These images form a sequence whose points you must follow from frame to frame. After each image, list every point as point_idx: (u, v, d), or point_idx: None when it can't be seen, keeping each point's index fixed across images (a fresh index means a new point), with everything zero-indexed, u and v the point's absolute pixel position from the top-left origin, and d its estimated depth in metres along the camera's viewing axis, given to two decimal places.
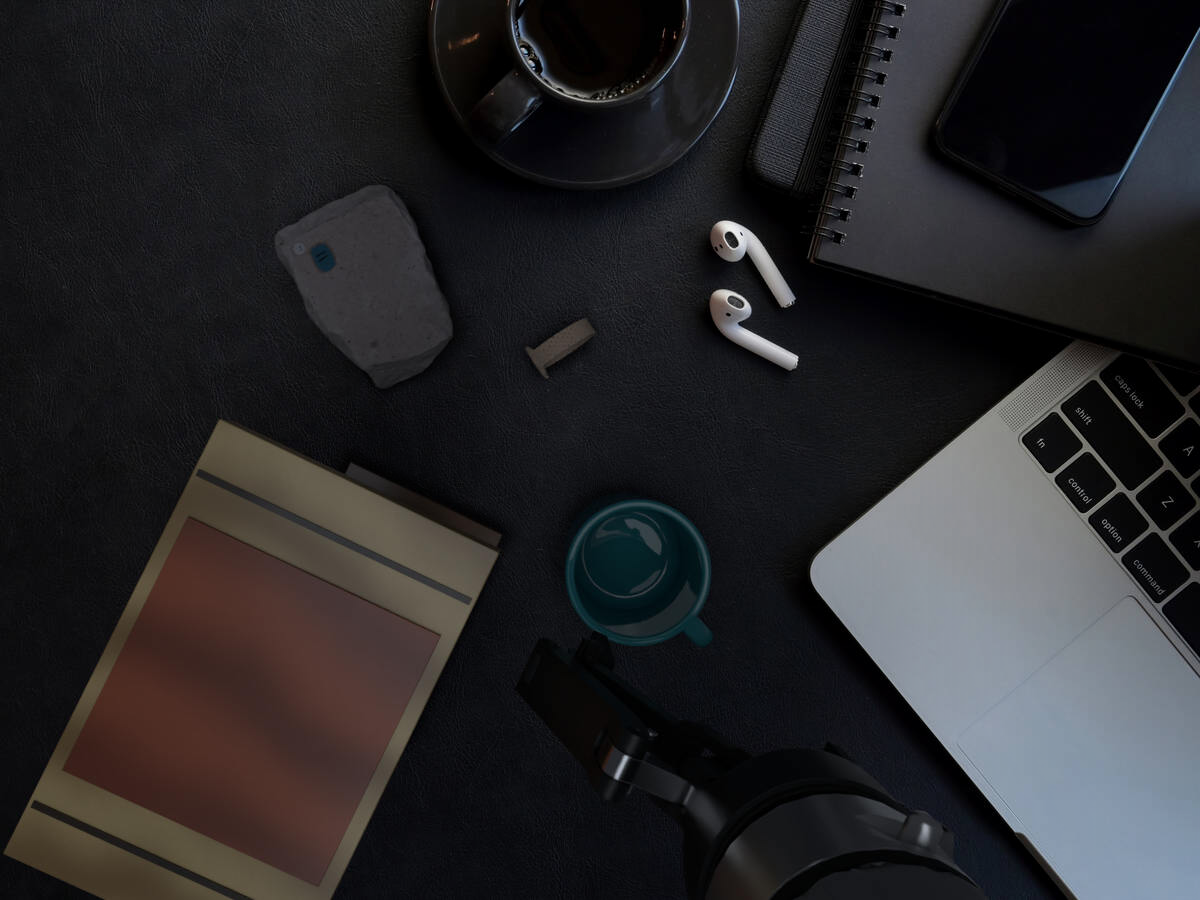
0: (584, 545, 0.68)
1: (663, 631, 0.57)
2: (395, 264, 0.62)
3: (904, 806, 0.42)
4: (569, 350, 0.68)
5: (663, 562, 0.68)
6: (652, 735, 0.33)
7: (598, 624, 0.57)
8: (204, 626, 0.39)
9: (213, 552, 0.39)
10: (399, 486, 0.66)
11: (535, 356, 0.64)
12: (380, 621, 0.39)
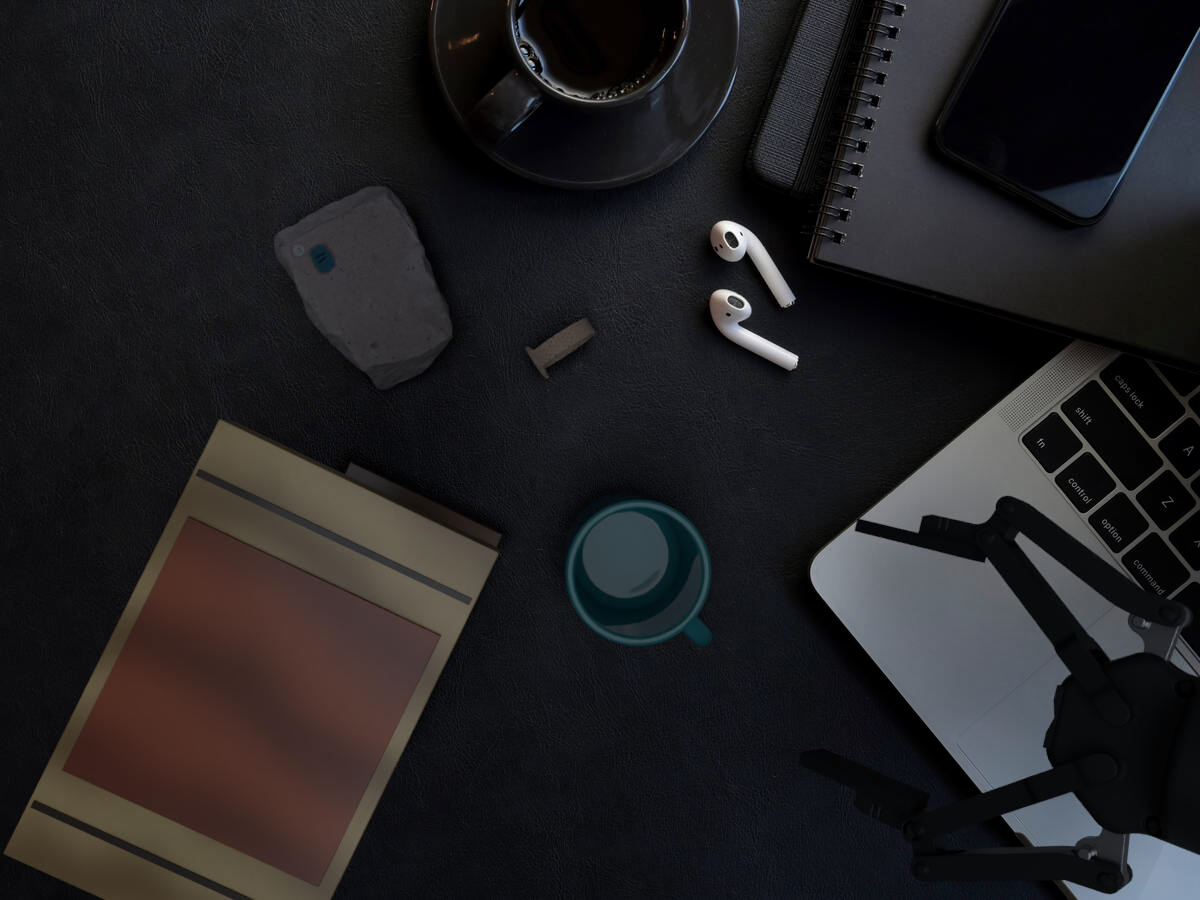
0: (584, 545, 0.68)
1: (663, 631, 0.57)
2: (395, 265, 0.62)
3: None
4: (569, 350, 0.68)
5: (663, 562, 0.68)
6: None
7: (598, 624, 0.57)
8: (204, 626, 0.39)
9: (213, 552, 0.39)
10: (399, 486, 0.66)
11: (535, 356, 0.64)
12: (380, 621, 0.39)
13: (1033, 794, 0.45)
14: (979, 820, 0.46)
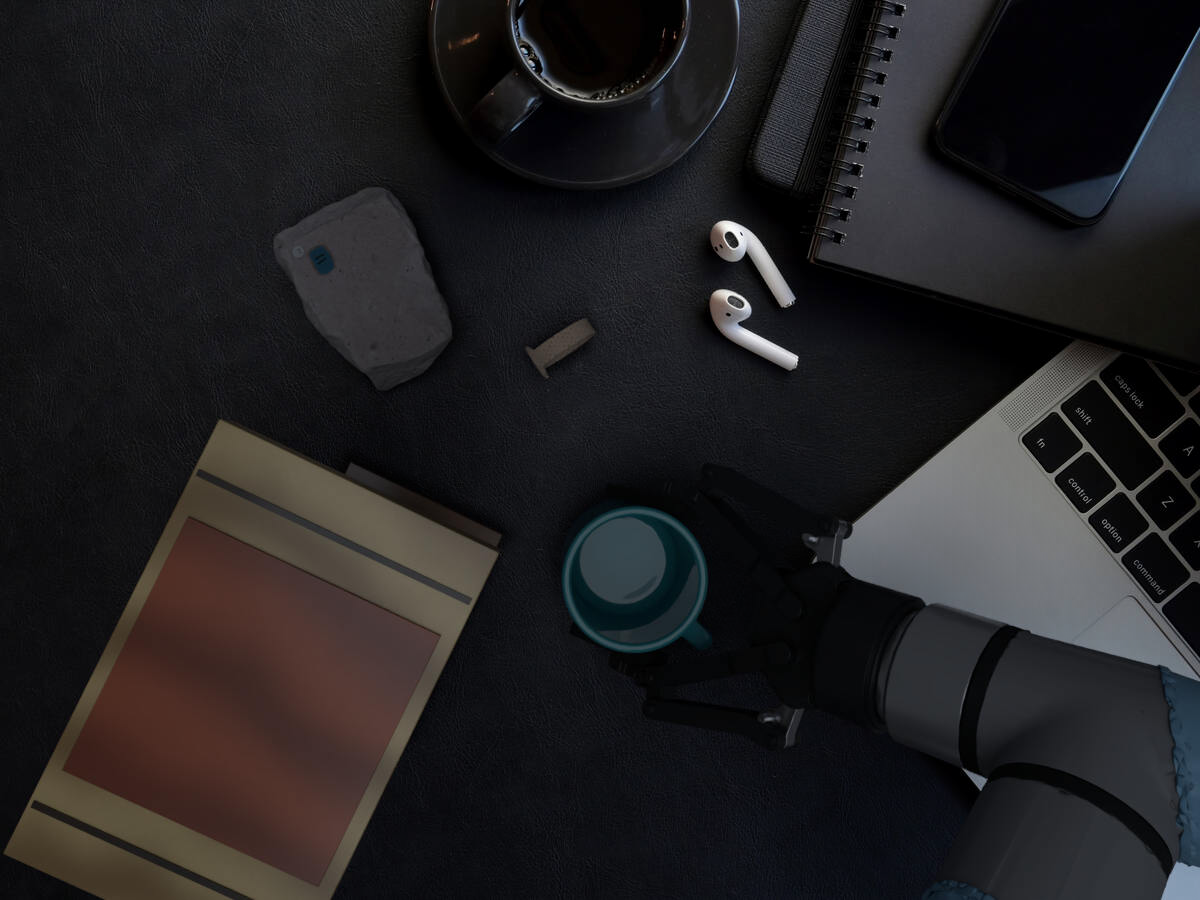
0: (581, 553, 0.68)
1: (662, 637, 0.57)
2: (394, 266, 0.62)
3: None
4: (569, 350, 0.68)
5: (661, 567, 0.68)
6: None
7: (597, 632, 0.57)
8: (204, 626, 0.39)
9: (213, 552, 0.39)
10: (399, 486, 0.66)
11: (535, 356, 0.64)
12: (380, 621, 0.39)
13: (731, 666, 0.54)
14: (691, 678, 0.56)
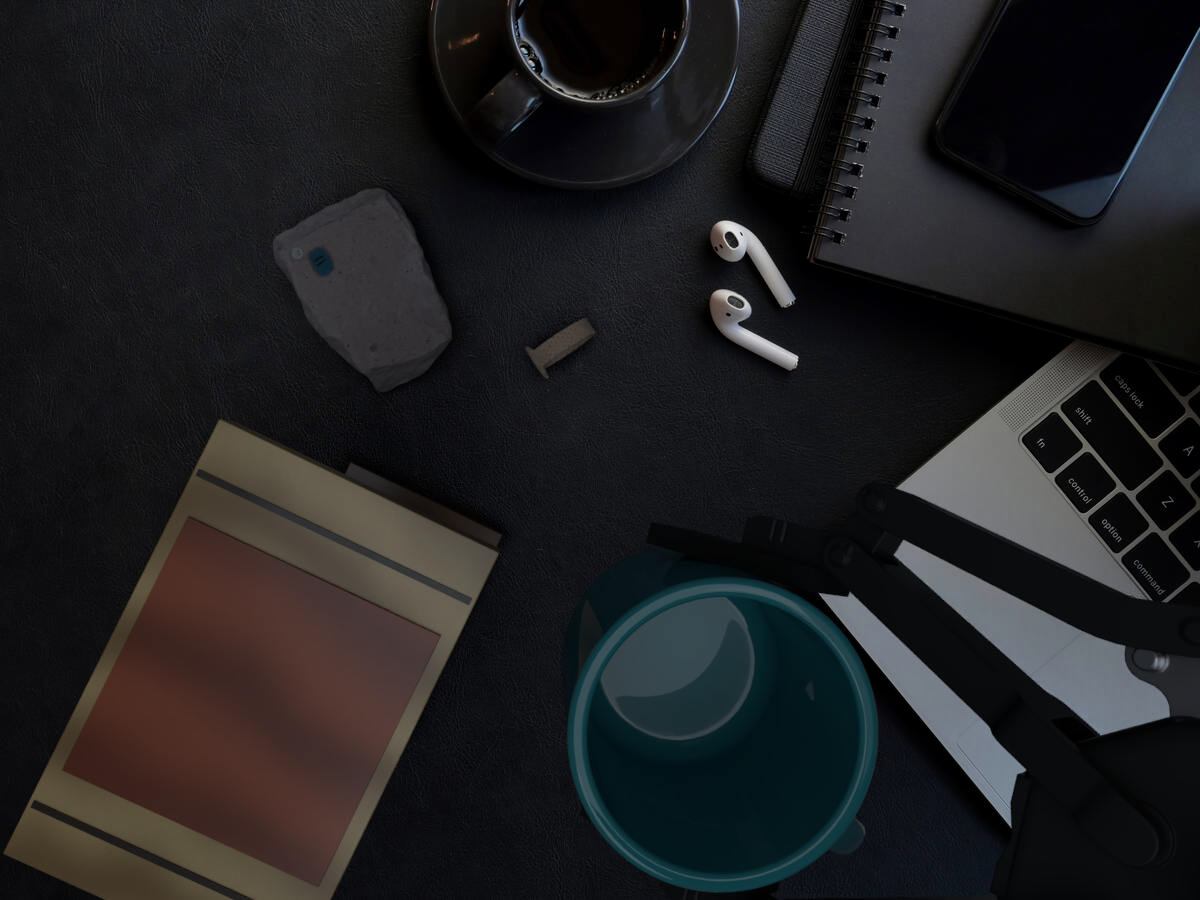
0: None
1: (782, 857, 0.27)
2: (394, 267, 0.62)
3: None
4: (569, 350, 0.68)
5: (745, 671, 0.37)
6: None
7: (643, 850, 0.27)
8: (204, 626, 0.39)
9: (213, 552, 0.39)
10: (399, 486, 0.66)
11: (535, 356, 0.64)
12: (380, 621, 0.39)
13: None
14: None
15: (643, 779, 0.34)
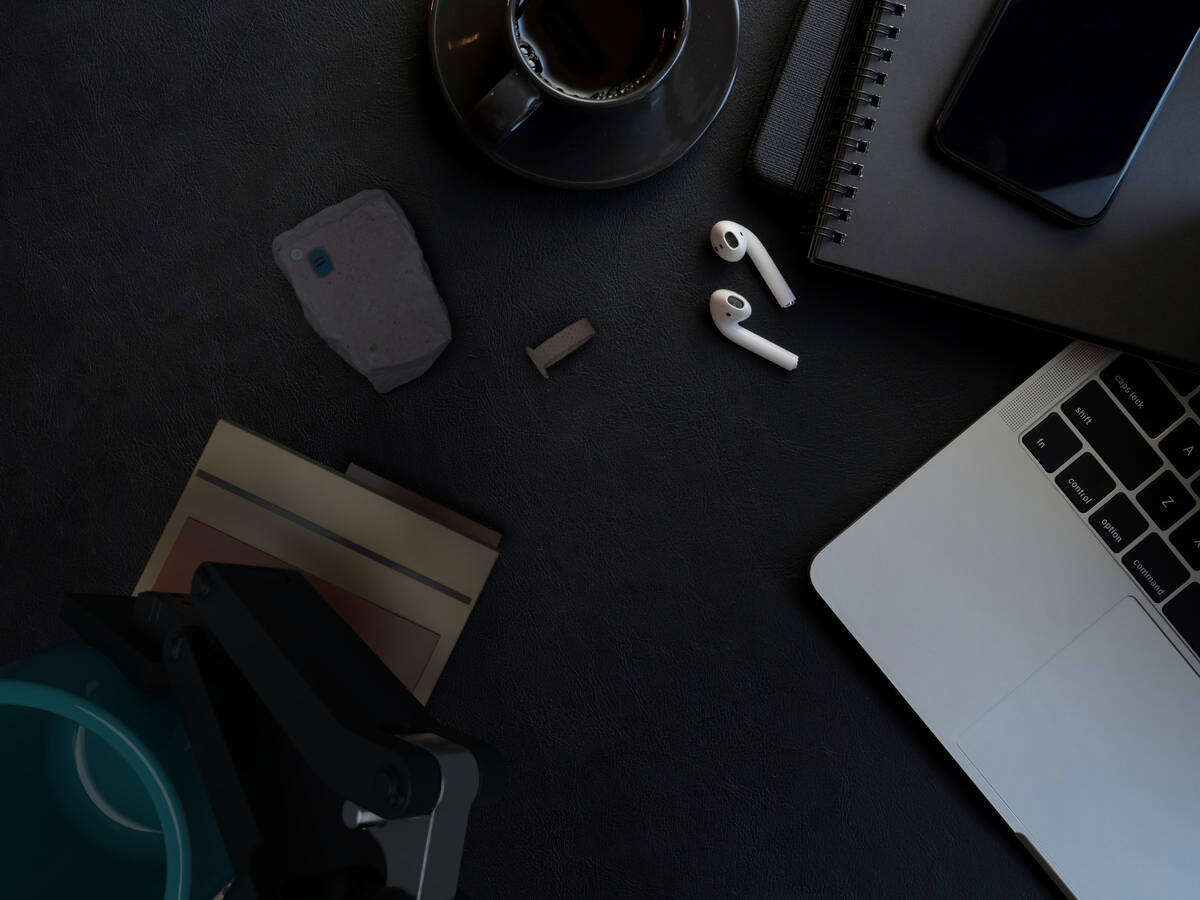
0: None
1: None
2: (393, 268, 0.62)
3: None
4: (569, 350, 0.68)
5: None
6: None
7: None
8: None
9: (213, 552, 0.39)
10: (399, 486, 0.66)
11: (535, 356, 0.64)
12: (380, 621, 0.39)
13: None
14: None
15: (73, 891, 0.29)
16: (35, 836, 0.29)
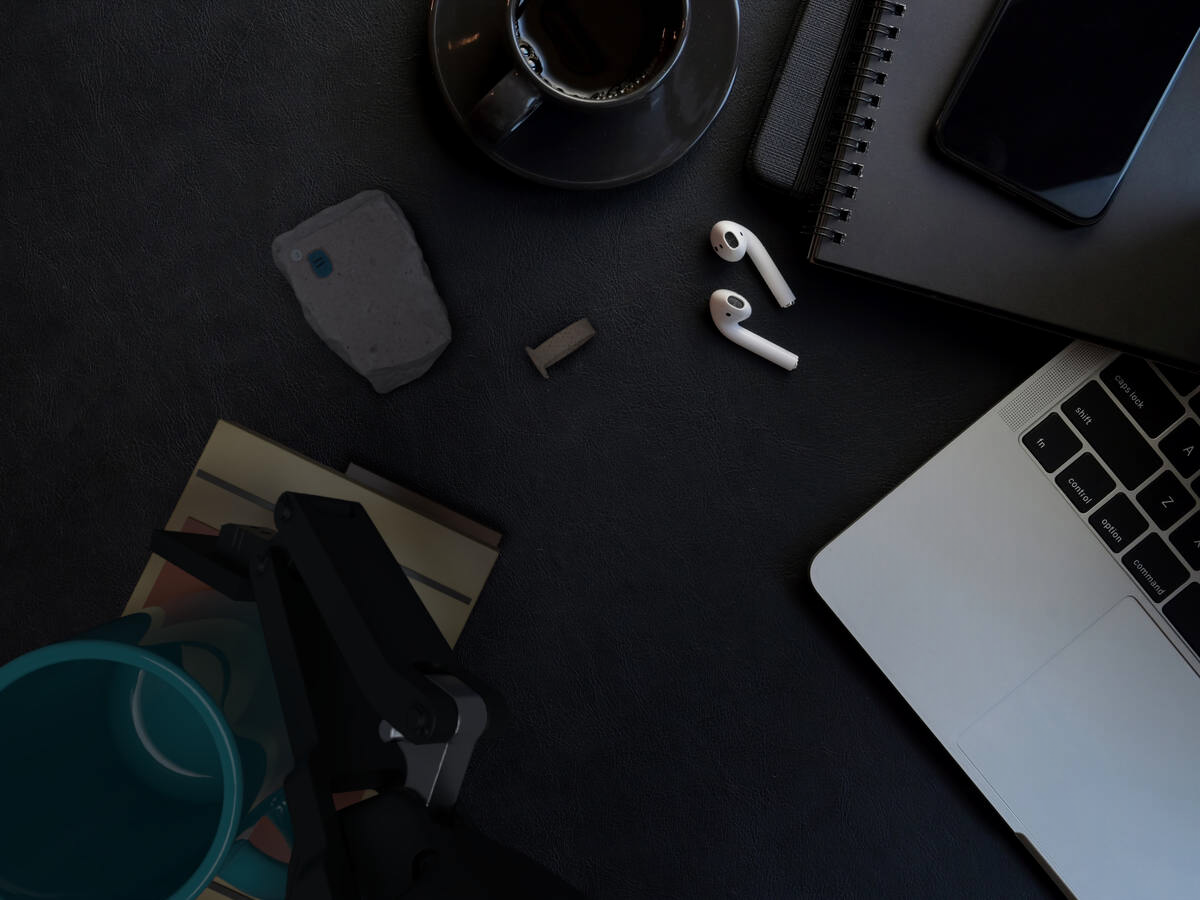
0: (141, 687, 0.38)
1: None
2: (393, 269, 0.62)
3: None
4: (569, 350, 0.68)
5: None
6: None
7: None
8: None
9: None
10: (399, 486, 0.66)
11: (535, 356, 0.64)
12: None
13: None
14: None
15: (136, 821, 0.34)
16: (102, 777, 0.35)
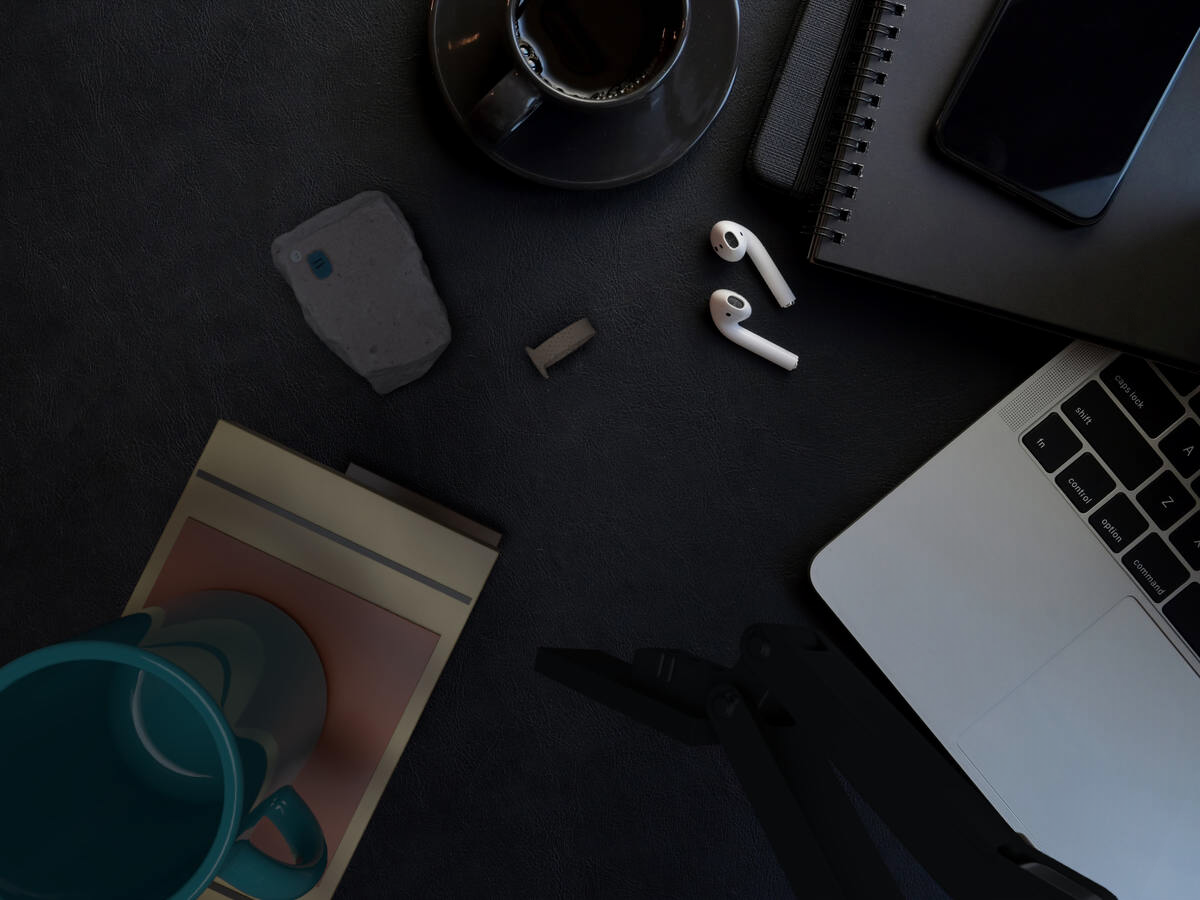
0: (140, 687, 0.38)
1: None
2: (392, 270, 0.62)
3: None
4: (569, 350, 0.68)
5: None
6: None
7: None
8: None
9: (213, 552, 0.39)
10: (399, 486, 0.66)
11: (535, 356, 0.64)
12: (380, 621, 0.39)
13: None
14: None
15: (136, 821, 0.34)
16: (102, 777, 0.35)
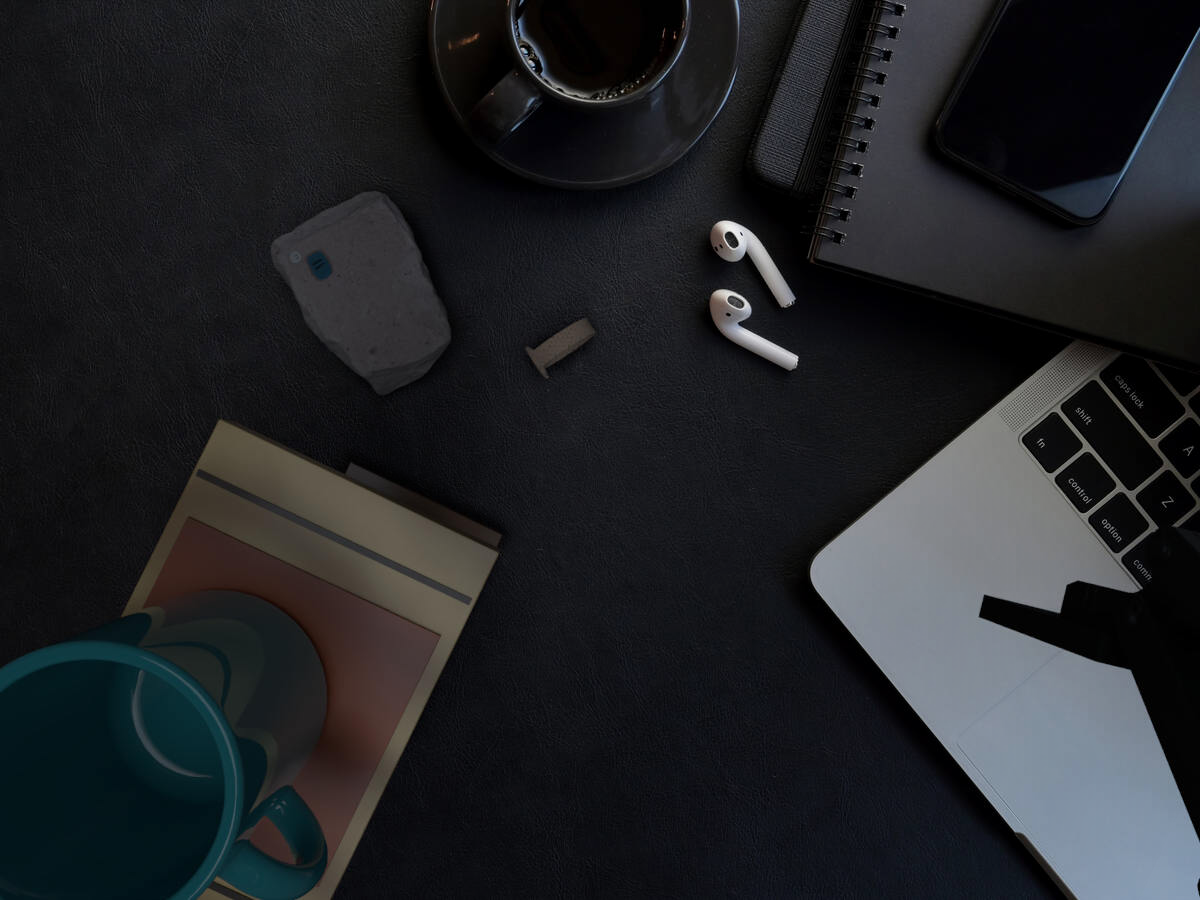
0: (140, 687, 0.38)
1: None
2: (392, 270, 0.62)
3: None
4: (569, 350, 0.68)
5: None
6: None
7: None
8: None
9: (213, 552, 0.39)
10: (399, 486, 0.66)
11: (535, 356, 0.64)
12: (380, 621, 0.39)
13: None
14: None
15: (136, 821, 0.34)
16: (102, 777, 0.35)
